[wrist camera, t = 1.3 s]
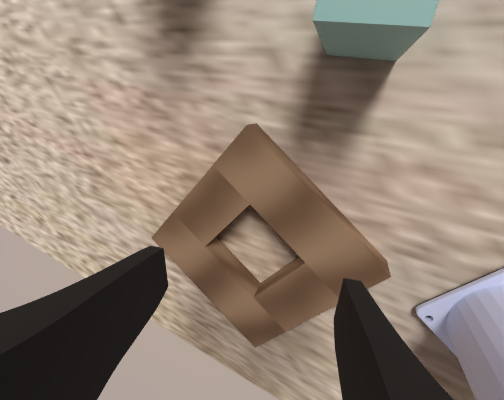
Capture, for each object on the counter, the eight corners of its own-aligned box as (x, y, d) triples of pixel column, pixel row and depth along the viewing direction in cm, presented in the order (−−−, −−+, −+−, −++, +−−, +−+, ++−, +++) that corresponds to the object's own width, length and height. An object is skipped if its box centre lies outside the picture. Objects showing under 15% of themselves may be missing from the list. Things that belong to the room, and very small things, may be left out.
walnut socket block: (386, 260, 19) (390, 276, 17) (261, 330, 25) (255, 347, 23) (256, 123, 19) (246, 125, 17) (165, 228, 25) (151, 237, 23)
